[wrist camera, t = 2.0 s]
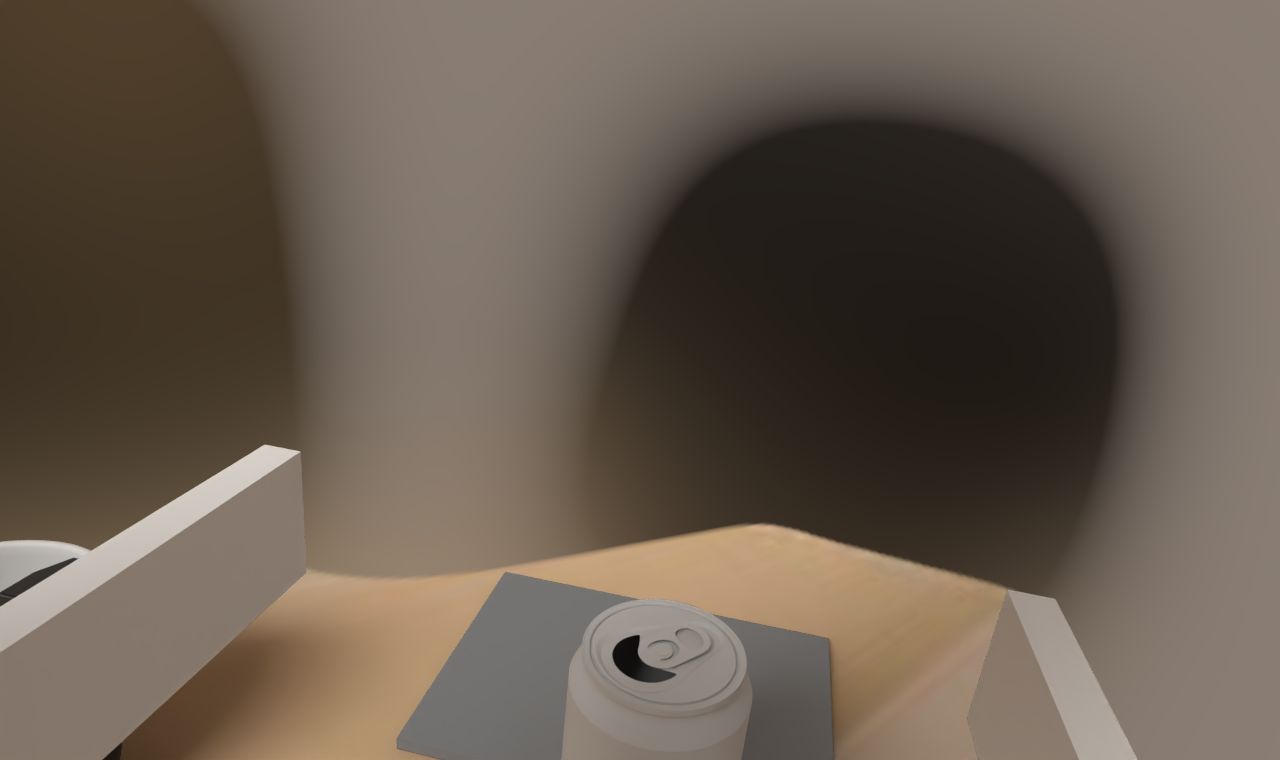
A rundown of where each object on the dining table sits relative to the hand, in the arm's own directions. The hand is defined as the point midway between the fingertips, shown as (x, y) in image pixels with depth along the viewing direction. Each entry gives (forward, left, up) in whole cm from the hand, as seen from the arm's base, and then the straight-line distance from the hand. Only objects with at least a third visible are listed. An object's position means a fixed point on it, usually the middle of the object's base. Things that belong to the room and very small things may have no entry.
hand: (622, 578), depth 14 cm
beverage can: (0, -10, -21) cm, 23 cm away
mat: (+2, -21, -21) cm, 30 cm away
